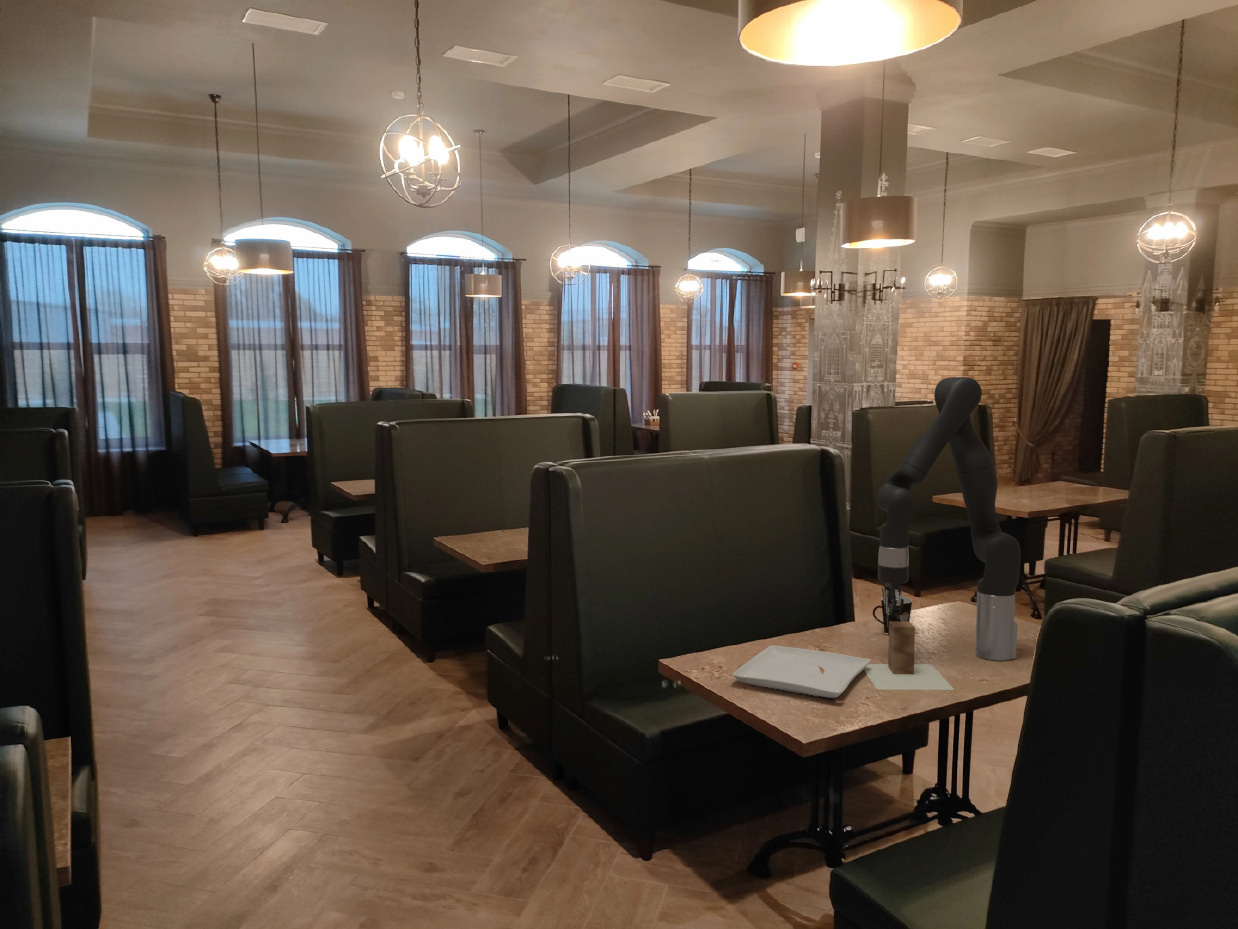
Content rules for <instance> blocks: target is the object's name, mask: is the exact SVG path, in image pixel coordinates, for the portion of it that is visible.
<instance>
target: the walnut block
mask: <svg viewBox="0 0 1238 929" xmlns="http://www.w3.org/2000/svg"><path fill="white" fill-rule="evenodd" d="M915 629H916V627H915V626H914V625H913V623H911V622H910V621H889V635H888V663H887V664H888V668H889V669H890V670H891V672H892V673H893V674H914V664H915V647H916V646H915V645H916V644H915V642H916V641H915V640H916V639H915V635H916V630H915Z"/></svg>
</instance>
